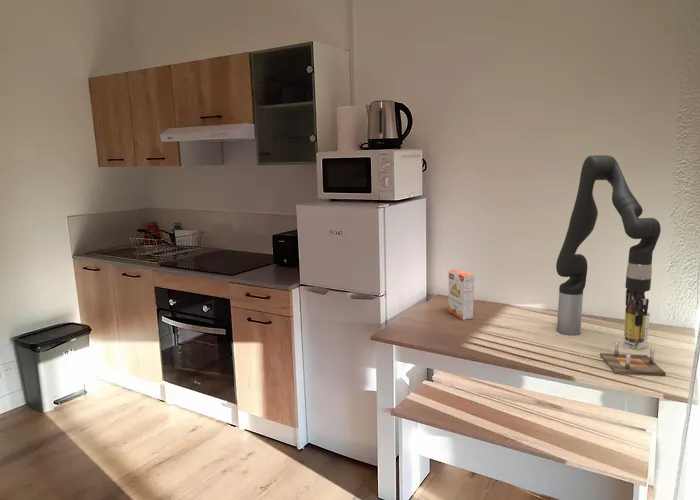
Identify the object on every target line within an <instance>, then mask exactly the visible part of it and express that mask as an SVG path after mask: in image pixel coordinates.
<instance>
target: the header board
mask: <svg viewBox="0 0 700 500" xmlns="http://www.w3.org/2000/svg"><path fill="white" fill-rule="evenodd" d="M626 354H627V353H626ZM626 354H625V353H618V357H615V356H614V353H609V352H608V353H605V352H602V353H601V352H600V353H599V357H600V358H601V359H602V360H603V362H605V364H606V365H607V367H608V368H609V369H610V370H611V371H612V372H613V374H614V375H630V376H632V375H633V376H635V375H636V376H650V377H651V376H652V377H653V376H654V377H666V375H667V372H665V371H664V370H663V369H662V367H660V366H659V365H658V364H657V363H656V362H655V361H654V364H649V357H650V356H649V355H647V354H632V353H630V355H631V359H630V369H625V363H626Z"/></svg>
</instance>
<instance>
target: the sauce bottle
mask: <svg viewBox="0 0 700 500" xmlns="http://www.w3.org/2000/svg"><path fill="white" fill-rule="evenodd" d="M632 296H636V291H631V290H630V299H629V302H628V304H627V306H626V305H625V306H626V307H625V314H624V330H623V331H624V332H623V333H624V334H623V335H624V341H625V340H626V341H629V342H631V343H642V342H644V337H645V318H646V316H643V324H642V326H636V325H635V316H636V312H635V309H634V305H633V301H632ZM636 306H639V304H636ZM644 310H645V309H644ZM641 312H642V311H641Z"/></svg>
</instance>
